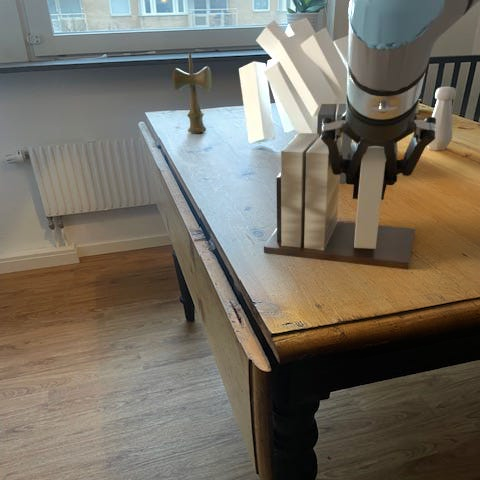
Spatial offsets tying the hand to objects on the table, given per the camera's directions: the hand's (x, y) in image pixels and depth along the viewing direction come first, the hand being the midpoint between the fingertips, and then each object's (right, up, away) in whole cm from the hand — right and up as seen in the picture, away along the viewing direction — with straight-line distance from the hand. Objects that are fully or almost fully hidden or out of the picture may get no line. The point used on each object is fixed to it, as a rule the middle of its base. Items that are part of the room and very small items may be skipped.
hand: (368, 190), depth 75 cm
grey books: (0, +11, +29) cm, 31 cm away
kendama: (-31, +33, +66) cm, 81 cm away
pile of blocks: (-1, +26, +53) cm, 59 cm away
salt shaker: (+27, +21, +42) cm, 54 cm away
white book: (0, -7, 0) cm, 7 cm away
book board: (-4, -8, +2) cm, 9 cm away
